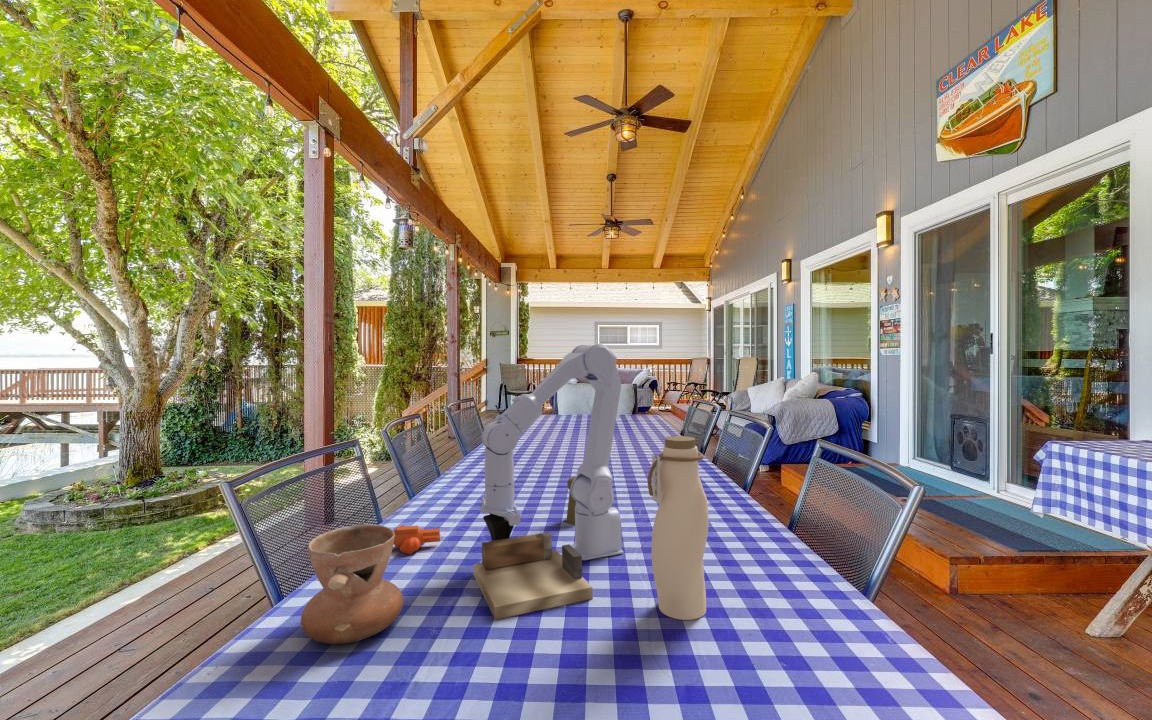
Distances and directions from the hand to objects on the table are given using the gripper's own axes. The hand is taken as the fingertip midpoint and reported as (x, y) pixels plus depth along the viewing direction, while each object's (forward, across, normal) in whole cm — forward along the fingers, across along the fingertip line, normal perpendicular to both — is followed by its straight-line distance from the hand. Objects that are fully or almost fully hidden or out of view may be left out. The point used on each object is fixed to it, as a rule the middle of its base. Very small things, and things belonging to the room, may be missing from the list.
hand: (500, 551), depth 100 cm
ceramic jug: (+3, +7, -28) cm, 29 cm away
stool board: (+3, +10, +1) cm, 11 cm away
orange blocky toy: (+4, -20, -12) cm, 24 cm away
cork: (+3, -16, +28) cm, 32 cm away
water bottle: (+3, +32, +18) cm, 36 cm away
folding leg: (+1, +4, +2) cm, 5 cm away
